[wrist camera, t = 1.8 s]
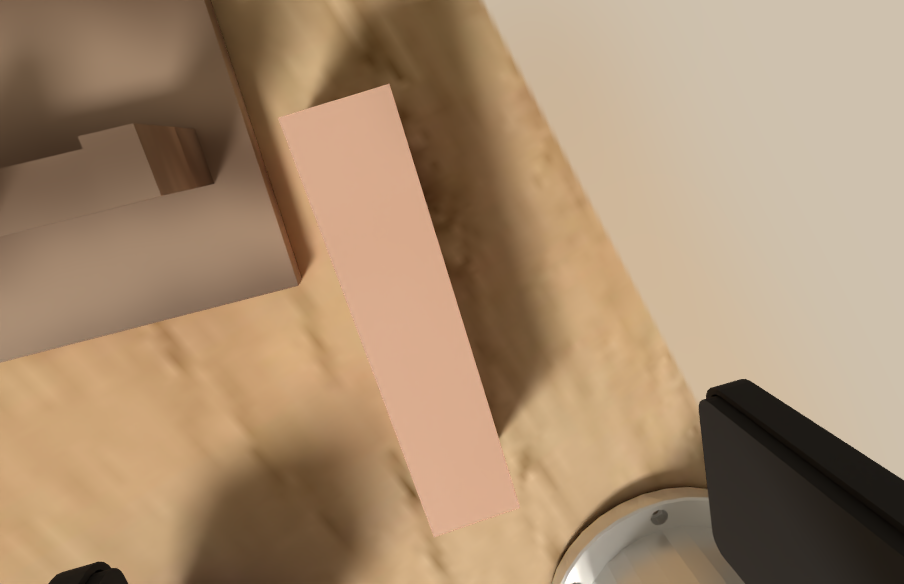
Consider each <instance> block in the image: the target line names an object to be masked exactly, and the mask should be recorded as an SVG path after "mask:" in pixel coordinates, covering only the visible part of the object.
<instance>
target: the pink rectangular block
mask: <svg viewBox="0 0 904 584" xmlns="http://www.w3.org/2000/svg"><path fill="white" fill-rule="evenodd" d="M278 119H279V122H280V125H281V127H282V130H283V133H284V135H285V138H286V141H287V144H288V146H289V149H290V152H291V154H292V157H293V160H294V162H295V165H296V168H297V170H298V173H299V176H300V178H301V181H302V184H303V187H304V189H305V192H306V195H307V197H308V200H309V203H310V205H311V208H312V211H313V213H314V216H315V219H316V221H317V224H318V227H319V229H320V232H321V235H322V238H323V240H324V243H325V246H326V248H327V251H328V254H329V256H330V259H331V262H332V264H333V267H334V270H335V272H336V275H337V278H338V281H339V283H340V286H341V289H342V291H343V294H344V297H345V299H346V302H347V305H348V307H349V310H350V313H351V315H352V318H353V321H354V323H355V326H356V329H357V332H358V334H359V337H360V340H361V342H362V345H363V348H364V350H365V353H366V356H367V358H368V361H369V364H370V366H371V369H372V372H373V375H374V377H375V380H376V383H377V385H378V388H379V391H380V393H381V396H382V399H383V401H384V404H385V407H386V409H387V412H388V415H389V417H390V420H391V423H392V426H393V428H394V431H395V434H396V436H397V439H398V442H399V444H400V447H401V450H402V452H403V455H404V458H405V460H406V463H407V466H408V468H409V471H410V474H411V477H412V479H413V482H414V485H415V487H416V490H417V493H418V495H419V498H420V501H421V503H422V506H423V509H424V511H425V514H426V517H427V520H428V522H429V525H430V528H431V530H432V533H433V536H434V537H436V536H439V535H442V534H445V533H448V532H451V531H454V530H457V529H460V528H463V527H466V526H469V525H471V524H474V523H477V522H480V521H483V520H486V519H489V518H492V517H495V516H498V515H501V514H504V513H507V512H509V511H512V510H515V509H518V508H520V505H519V502H518V499H517V496H516V492H515V489H514V486H513V483H512V479H511V476H510V473H509V470H508V466H507V463H506V460H505V457H504V454H503V450H502V447H501V444H500V441H499V437H498V434H497V431H496V428H495V424H494V421H493V418H492V415H491V411H490V408H489V405H488V402H487V398H486V395H485V392H484V389H483V386H482V382H481V379H480V376H479V373H478V369H477V366H476V363H475V360H474V356H473V353H472V350H471V347H470V343H469V340H468V337H467V334H466V330H465V327H464V324H463V321H462V317H461V314H460V311H459V308H458V305H457V301H456V298H455V295H454V292H453V288H452V285H451V282H450V279H449V275H448V272H447V269H446V266H445V262H444V259H443V256H442V253H441V249H440V246H439V243H438V240H437V236H436V233H435V230H434V227H433V224H432V220H431V217H430V214H429V211H428V207H427V204H426V201H425V198H424V194H423V191H422V188H421V185H420V181H419V178H418V175H417V172H416V168H415V165H414V162H413V159H412V156H411V152H410V149H409V146H408V143H407V139H406V136H405V133H404V130H403V126H402V123H401V120H400V117H399V113H398V110H397V107H396V104H395V100H394V97H393V94H392V91H391V87H390V84H387V85H383V86H380V87H377V88H374V89H370V90H367V91H364V92H360V93H357V94H354V95H351V96H347V97H344V98H341V99H337V100H334V101H331V102H328V103H324V104H321V105H318V106H315V107H311V108H308V109H305V110H301V111H298V112H295V113H292V114H288V115H285V116H282V117H278Z"/></svg>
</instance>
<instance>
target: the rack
mask: <svg viewBox="0 0 904 584" xmlns="http://www.w3.org/2000/svg"><path fill="white" fill-rule="evenodd" d="M301 280H302V278H301V275H300V272H299V269H298V266H297V263H296V260H295V257H294V254H293V251H292V247H291V244H290V241H289V238H288V235H287V232H286V229H285V226H284V223H283V220H282V217H281V214H280V211H279V208H278V205H277V202H276V199H275V196H274V192H273V189H272V186H271V183H270V180H269V177H268V174H267V171H266V168H265V165H264V162H263V159H262V156H261V153H260V150H259V147H258V144H257V141H256V137H255V134H254V131H253V128H252V125H251V122H250V119H249V116H248V113H247V110H246V107H245V104H244V101H243V98H242V95H241V92H240V89H239V86H238V83H237V79H236V76H235V73H234V70H233V67H232V64H231V61H230V58H229V55H228V52H227V49H226V46H225V43H224V40H223V37H222V34H221V31H220V28H219V24H218V21H217V18H216V15H215V12H214V9H213V6H212V3H211V0H0V363H1V362H4V361H8V360H12V359H16V358H20V357H24V356H28V355H32V354H35V353H39V352H43V351H47V350H51V349H55V348H59V347H63V346H66V345H70V344H74V343H78V342H82V341H86V340H90V339H94V338H97V337H101V336H105V335H109V334H113V333H117V332H121V331H125V330H128V329H132V328H136V327H140V326H144V325H148V324H152V323H156V322H159V321H163V320H167V319H171V318H175V317H179V316H183V315H187V314H190V313H194V312H198V311H202V310H206V309H210V308H214V307H218V306H221V305H225V304H229V303H233V302H237V301H241V300H245V299H249V298H252V297H256V296H260V295H264V294H268V293H272V292H276V291H280V290H283V289H287V288H291V287H295V286H298V285H299V284H300V282H301Z"/></svg>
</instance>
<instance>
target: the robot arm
mask: <svg viewBox="0 0 904 584" xmlns="http://www.w3.org/2000/svg"><path fill="white" fill-rule="evenodd" d="M699 416H700V425H701V434H702V443H703V452H704V461H705V470H706V480H707V489H703V488H694V487H681V488H667V489H662V490H658V491H654V492H650V493H646V494H642V495H640V496H638V497H635V498H633V499H630V500H628V501H626V502H623V503H621V504H619V505H618V506H616V507H614V508H613V509H611V510H610V511H608V512H606V513H605V514H603V515H602V516H600V517H599V518H598V519H597V520H595V521H594V522H593V523H592V524H591V525H590V526H589V527H587V528H586V529H585V530H584V531H583V532H582V533H581V534H580V535H579V536H578V538H577V539H576V540H575V541H574V542H573V544H572V545H571V546H570V547H569V548H568V550H567V552H566V553H565V555H564V557H563V559H562V560H561V562H560V564H559V566H558V567H557V569H556V572H555V575H554V578H553V581H552V584H904V480H902V479H901V478H899V477H898V476H896V475H895V474H893V473H891V472H890V471H888V470H887V469H885V468H884V467H882V466H881V465H879V464H878V463H876V462H874V461H873V460H871V459H870V458H868V457H867V456H865V455H864V454H862V453H861V452H859V451H858V450H856V449H854V448H853V447H851V446H850V445H848V444H847V443H845V442H844V441H842V440H841V439H839V438H837V437H836V436H834V435H833V434H831V433H830V432H828V431H827V430H825V429H824V428H822V427H820V426H819V425H817V424H816V423H814V422H813V421H811V420H810V419H808V418H807V417H805V416H803V415H802V414H800V413H799V412H797V411H796V410H794V409H793V408H791V407H790V406H788V405H786V404H785V403H783V402H782V401H780V400H779V399H777V398H776V397H774V396H773V395H771V394H769V393H768V392H766V391H765V390H763V389H762V388H760V387H759V386H757V385H755V384H754V383H752V382H751V381H749V380H746V379H741V380H737V381H733V382H730V383H726V384H723V385H720V386H716V387H713V388H710V389H709V390H708V391H707V394H706V399H704V400H702V401H700V403H699ZM49 584H128V582H127V580H126V579H125V577H124V575H123V573H122V572H121V571H120V570H119V569H117V568H111V567H110V566H109V565H108V564H106V563H104V562H96V563H93V564H89V565H86V566H82V567H79V568H75V569H72V570H68V571H65V572H62V573H60V574H57V575H56V576H55V577H54V578H53V579H52V580H51V581H50V582H49Z"/></svg>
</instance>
